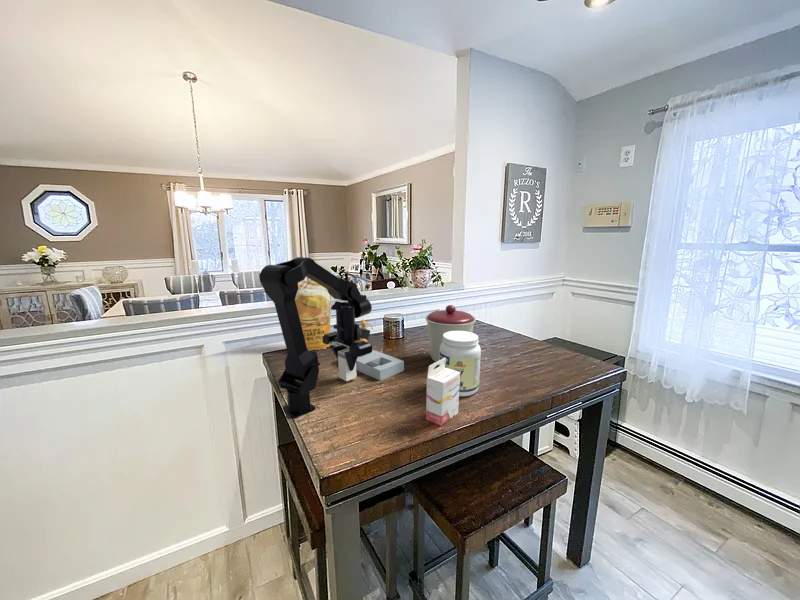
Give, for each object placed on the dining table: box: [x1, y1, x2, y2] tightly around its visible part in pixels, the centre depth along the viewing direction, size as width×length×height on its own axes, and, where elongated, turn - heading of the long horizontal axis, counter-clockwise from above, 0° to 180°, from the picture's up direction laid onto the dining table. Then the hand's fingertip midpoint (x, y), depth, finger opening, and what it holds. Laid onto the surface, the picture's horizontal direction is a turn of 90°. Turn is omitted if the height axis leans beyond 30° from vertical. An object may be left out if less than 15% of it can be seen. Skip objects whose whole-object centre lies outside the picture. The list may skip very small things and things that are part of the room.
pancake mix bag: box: [295, 280, 332, 351], centre depth 132 cm, size 7×19×28 cm, turn 110°
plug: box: [337, 347, 358, 382], centre depth 106 cm, size 4×4×9 cm
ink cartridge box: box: [425, 358, 460, 427], centre depth 84 cm, size 9×5×15 cm, turn 141°
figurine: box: [357, 318, 374, 342], centre depth 137 cm, size 8×6×12 cm
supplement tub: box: [438, 331, 482, 397], centre depth 100 cm, size 12×12×17 cm
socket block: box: [356, 349, 405, 382], centre depth 117 cm, size 22×11×4 cm, turn 46°
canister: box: [424, 304, 477, 363], centre depth 121 cm, size 18×18×21 cm
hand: (347, 368), depth 106 cm, fingers closed on plug, 4 cm apart
